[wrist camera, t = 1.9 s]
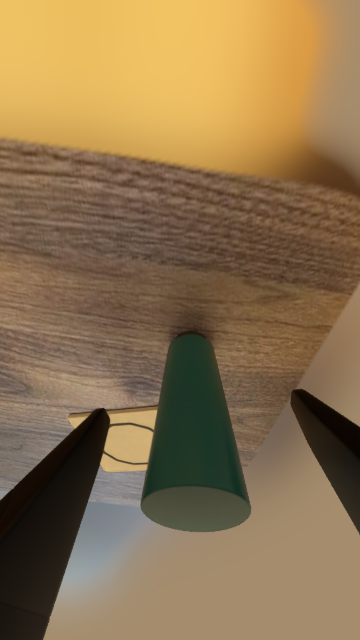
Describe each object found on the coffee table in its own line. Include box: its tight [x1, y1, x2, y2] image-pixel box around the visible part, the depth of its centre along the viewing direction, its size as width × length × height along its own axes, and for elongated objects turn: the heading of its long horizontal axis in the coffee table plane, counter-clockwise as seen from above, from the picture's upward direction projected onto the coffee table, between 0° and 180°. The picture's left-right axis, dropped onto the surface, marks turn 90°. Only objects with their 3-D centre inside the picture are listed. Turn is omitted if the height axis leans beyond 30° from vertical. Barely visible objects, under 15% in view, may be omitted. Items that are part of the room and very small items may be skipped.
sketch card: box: [67, 406, 158, 472], centre depth 18 cm, size 10×10×1 cm
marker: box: [141, 331, 251, 532], centre depth 9 cm, size 3×3×8 cm
